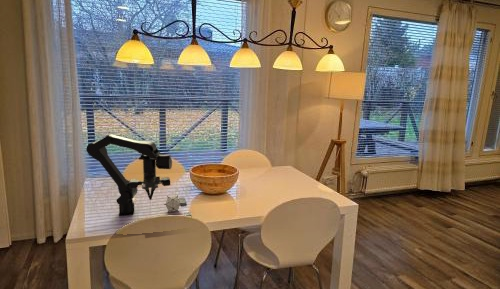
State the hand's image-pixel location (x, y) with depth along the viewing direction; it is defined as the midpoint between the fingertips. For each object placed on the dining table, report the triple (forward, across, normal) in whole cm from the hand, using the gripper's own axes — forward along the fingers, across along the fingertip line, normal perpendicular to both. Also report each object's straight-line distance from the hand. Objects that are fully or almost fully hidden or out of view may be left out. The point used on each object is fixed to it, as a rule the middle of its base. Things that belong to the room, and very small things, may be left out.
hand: (150, 199), depth 163 cm
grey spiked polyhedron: (+8, +11, 0) cm, 13 cm away
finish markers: (+7, +17, +2) cm, 18 cm away
